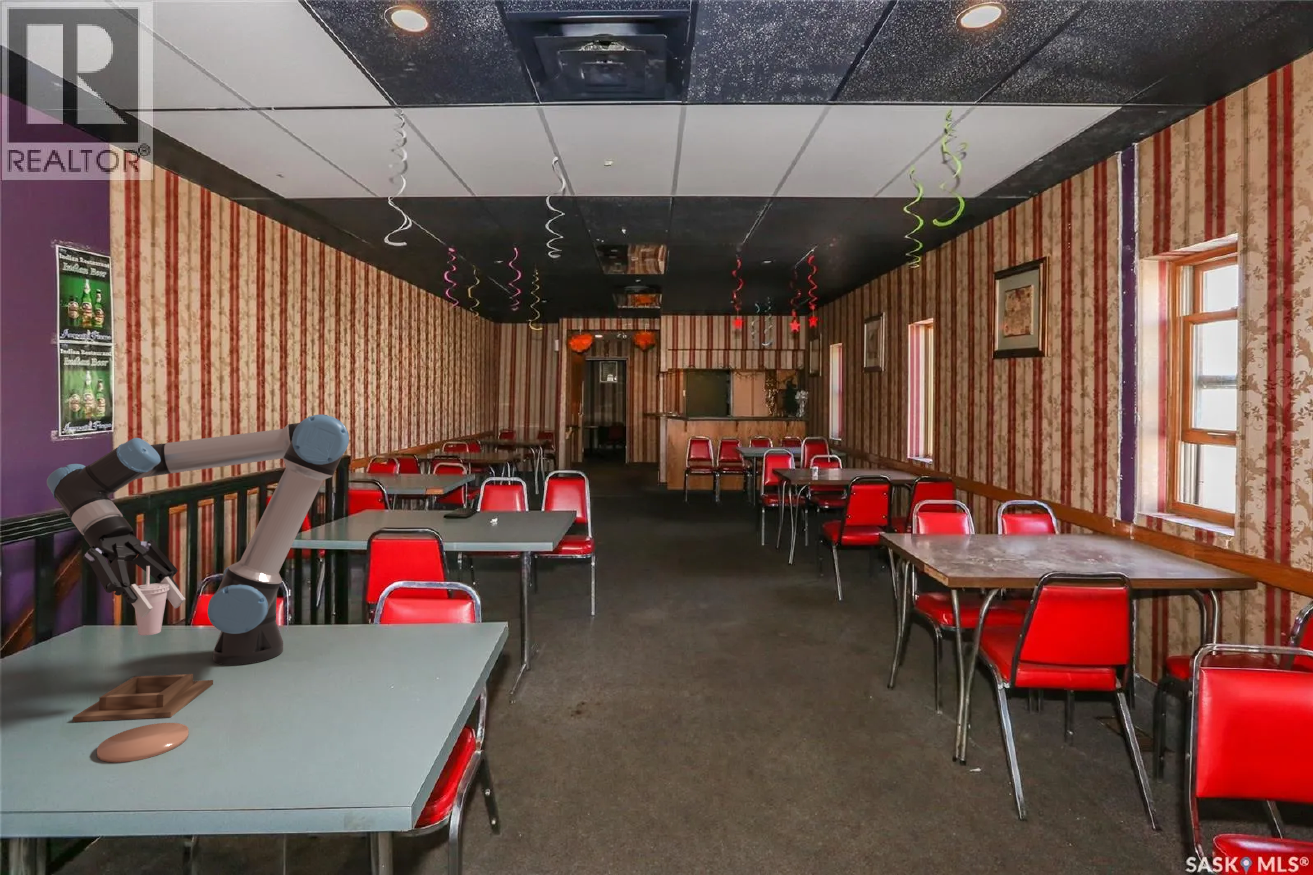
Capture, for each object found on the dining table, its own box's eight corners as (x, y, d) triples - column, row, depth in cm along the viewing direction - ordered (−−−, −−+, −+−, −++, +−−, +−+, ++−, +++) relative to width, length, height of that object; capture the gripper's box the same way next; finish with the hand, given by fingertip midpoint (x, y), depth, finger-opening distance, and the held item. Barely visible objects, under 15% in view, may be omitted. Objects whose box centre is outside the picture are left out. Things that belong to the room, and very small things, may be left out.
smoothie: (144, 628, 137) (145, 563, 137) (176, 627, 138) (177, 563, 138) (122, 637, 131) (123, 569, 131) (155, 637, 132) (156, 569, 132)
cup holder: (213, 684, 144) (213, 668, 144) (170, 717, 128) (171, 699, 128) (127, 688, 141) (128, 672, 141) (72, 722, 125) (73, 704, 125)
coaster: (202, 726, 124) (202, 721, 124) (163, 759, 111) (164, 753, 111) (126, 730, 122) (126, 724, 122) (78, 764, 109) (78, 759, 109)
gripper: (138, 531, 147) (196, 607, 144) (41, 545, 128) (105, 633, 125) (157, 509, 146) (215, 585, 143) (62, 520, 127) (127, 608, 124)
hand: (164, 608), depth 134 cm, fingers closed on smoothie, 6 cm apart
